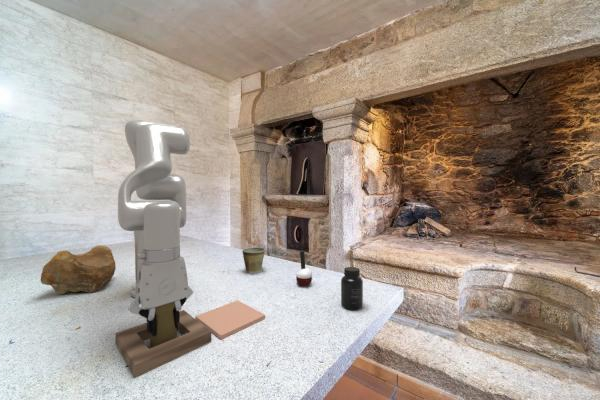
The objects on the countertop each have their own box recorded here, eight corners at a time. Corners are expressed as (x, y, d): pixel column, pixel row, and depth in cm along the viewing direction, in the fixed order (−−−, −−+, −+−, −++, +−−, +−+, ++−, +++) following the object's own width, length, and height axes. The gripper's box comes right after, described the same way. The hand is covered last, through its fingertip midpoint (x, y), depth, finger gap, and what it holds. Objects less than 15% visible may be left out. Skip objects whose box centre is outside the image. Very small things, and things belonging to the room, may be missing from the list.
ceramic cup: (263, 275, 108) (263, 252, 107) (240, 275, 108) (239, 252, 108) (267, 266, 121) (267, 245, 120) (246, 266, 121) (246, 245, 121)
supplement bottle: (363, 303, 82) (364, 266, 82) (361, 312, 76) (362, 273, 75) (342, 299, 84) (343, 264, 84) (339, 308, 78) (339, 271, 77)
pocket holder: (115, 343, 60) (115, 333, 60) (183, 318, 71) (183, 309, 71) (134, 377, 49) (134, 365, 49) (211, 341, 61) (211, 331, 61)
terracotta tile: (195, 319, 71) (195, 316, 71) (237, 303, 81) (237, 300, 81) (221, 339, 61) (220, 335, 61) (265, 318, 72) (265, 315, 72)
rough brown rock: (74, 306, 80) (78, 260, 80) (31, 298, 82) (34, 253, 82) (132, 282, 103) (135, 246, 103) (97, 276, 105) (100, 241, 105)
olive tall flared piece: (165, 352, 57) (165, 304, 56) (143, 348, 58) (142, 302, 57) (183, 336, 63) (182, 293, 62) (162, 333, 64) (161, 291, 63)
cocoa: (309, 290, 93) (311, 259, 92) (293, 288, 94) (294, 257, 93) (313, 280, 102) (314, 252, 101) (298, 278, 103) (299, 250, 102)
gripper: (124, 265, 51) (126, 353, 51) (203, 251, 63) (204, 322, 64) (115, 258, 56) (117, 338, 56) (190, 246, 68) (191, 312, 69)
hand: (163, 328), depth 60 cm, fingers closed on olive tall flared piece, 4 cm apart
